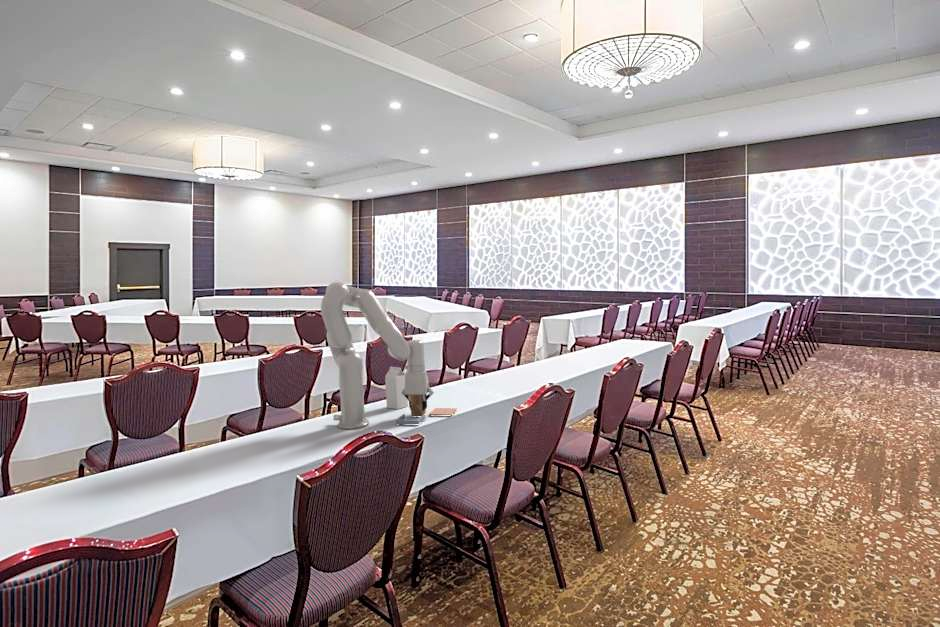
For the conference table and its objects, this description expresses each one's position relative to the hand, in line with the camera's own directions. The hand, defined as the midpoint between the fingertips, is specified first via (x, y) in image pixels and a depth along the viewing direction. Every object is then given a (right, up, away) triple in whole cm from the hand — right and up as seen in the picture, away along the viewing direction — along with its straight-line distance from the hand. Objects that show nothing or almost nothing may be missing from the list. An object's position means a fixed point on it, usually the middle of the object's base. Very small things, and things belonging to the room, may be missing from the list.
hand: (418, 408), depth 236 cm
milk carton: (-11, -2, +17) cm, 21 cm away
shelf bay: (-2, -4, -9) cm, 10 cm away
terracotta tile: (+11, -2, +2) cm, 11 cm away
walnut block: (0, -3, 0) cm, 3 cm away
